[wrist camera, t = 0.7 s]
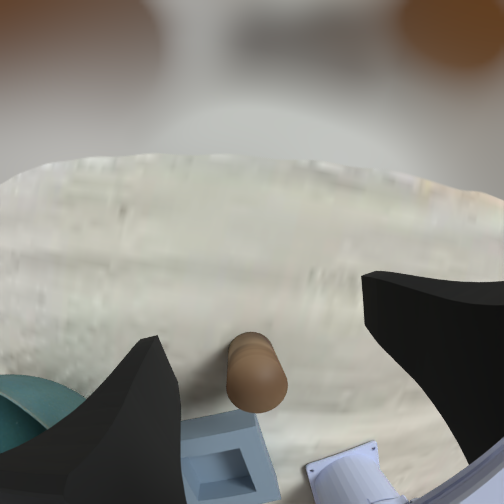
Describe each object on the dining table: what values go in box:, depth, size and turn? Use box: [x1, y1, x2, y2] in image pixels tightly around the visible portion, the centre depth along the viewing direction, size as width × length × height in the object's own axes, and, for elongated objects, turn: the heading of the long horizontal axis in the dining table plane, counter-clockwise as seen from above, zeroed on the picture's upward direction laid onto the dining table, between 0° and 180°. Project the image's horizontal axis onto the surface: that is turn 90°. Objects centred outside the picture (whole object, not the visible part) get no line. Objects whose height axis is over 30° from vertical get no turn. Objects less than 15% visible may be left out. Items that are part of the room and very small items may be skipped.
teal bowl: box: [0, 375, 86, 453], centre depth 20 cm, size 18×18×12 cm
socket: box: [181, 409, 281, 504], centre depth 25 cm, size 10×10×4 cm
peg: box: [226, 332, 288, 413], centre depth 23 cm, size 4×4×8 cm
